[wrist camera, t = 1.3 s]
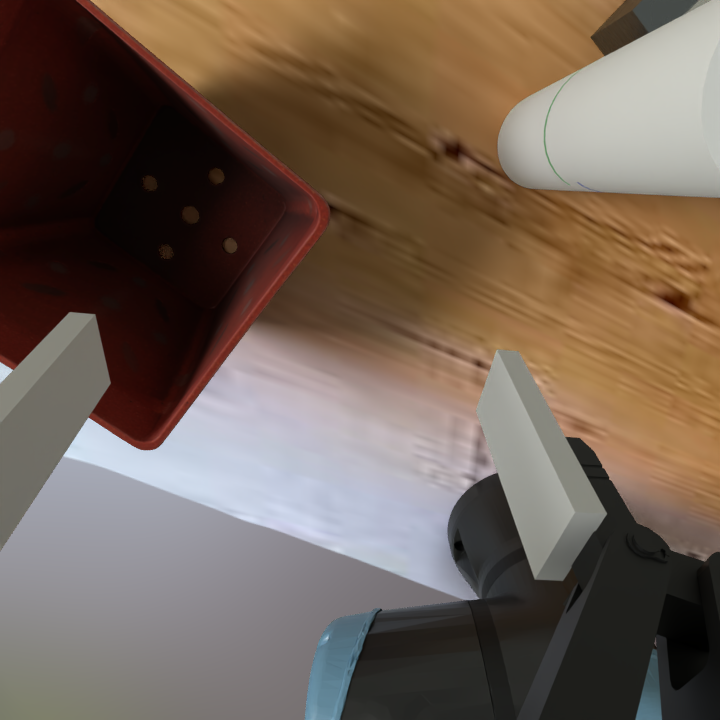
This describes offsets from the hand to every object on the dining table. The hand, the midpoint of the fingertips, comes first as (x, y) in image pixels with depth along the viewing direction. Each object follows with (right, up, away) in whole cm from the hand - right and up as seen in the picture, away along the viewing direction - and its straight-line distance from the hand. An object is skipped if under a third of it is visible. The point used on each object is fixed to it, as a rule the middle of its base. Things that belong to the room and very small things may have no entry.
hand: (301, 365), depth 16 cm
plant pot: (-12, +13, +25) cm, 30 cm away
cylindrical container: (+17, +18, +22) cm, 33 cm away
